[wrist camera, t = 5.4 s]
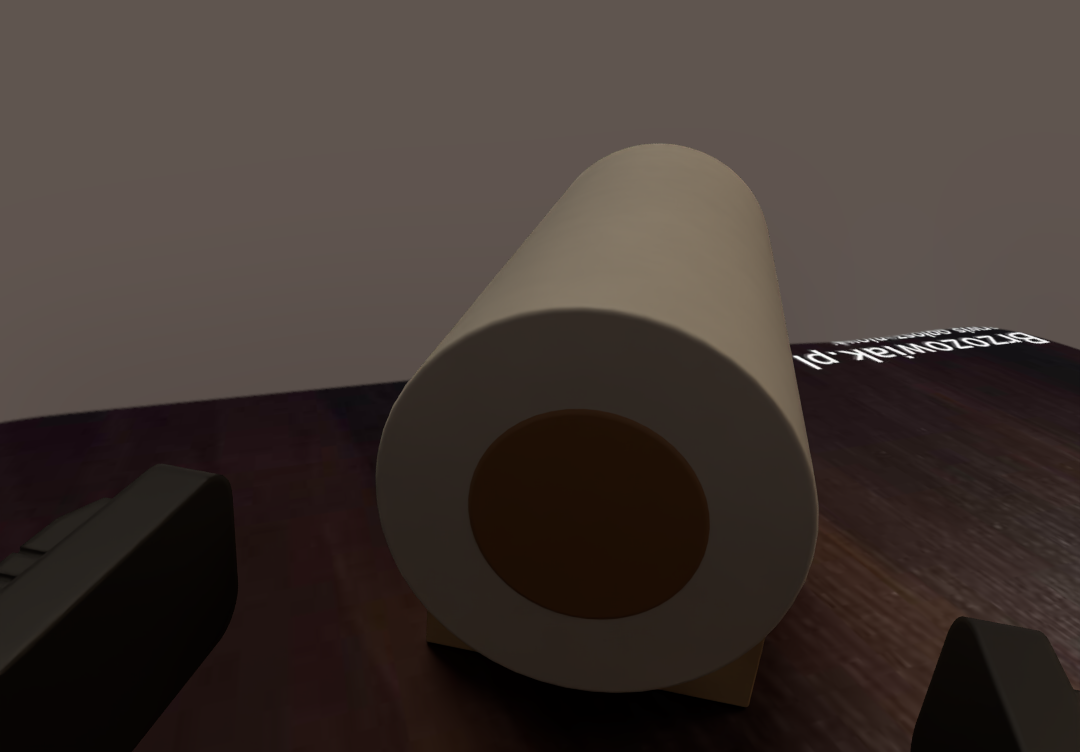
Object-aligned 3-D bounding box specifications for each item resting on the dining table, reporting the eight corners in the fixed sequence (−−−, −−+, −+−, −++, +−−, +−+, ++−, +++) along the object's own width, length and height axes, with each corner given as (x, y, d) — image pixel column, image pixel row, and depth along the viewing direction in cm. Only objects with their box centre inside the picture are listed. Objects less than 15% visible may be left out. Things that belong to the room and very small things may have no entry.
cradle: (425, 642, 19) (434, 441, 17) (514, 452, 27) (527, 300, 25) (748, 708, 18) (798, 505, 16) (740, 491, 26) (773, 336, 24)
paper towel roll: (369, 651, 13) (374, 275, 11) (539, 340, 25) (558, 129, 22) (768, 735, 12) (870, 348, 10) (747, 372, 24) (790, 157, 22)
